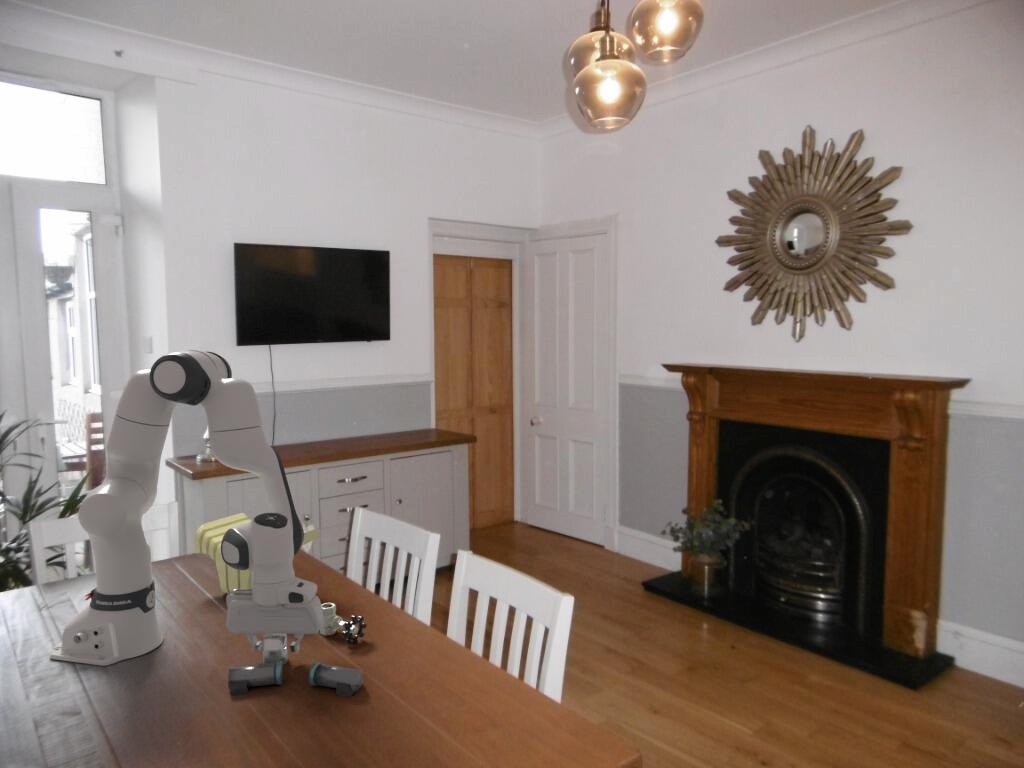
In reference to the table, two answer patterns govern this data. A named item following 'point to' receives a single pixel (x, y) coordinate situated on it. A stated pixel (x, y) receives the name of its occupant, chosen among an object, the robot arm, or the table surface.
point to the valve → (341, 624)
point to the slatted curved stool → (210, 543)
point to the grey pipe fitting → (254, 676)
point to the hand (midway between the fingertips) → (276, 651)
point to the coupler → (274, 648)
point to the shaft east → (336, 678)
